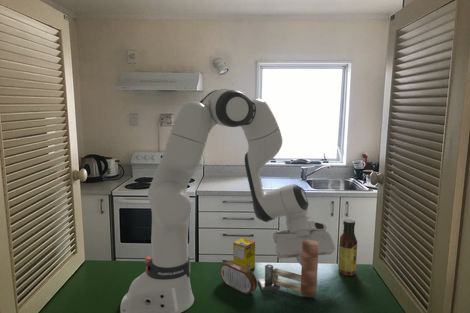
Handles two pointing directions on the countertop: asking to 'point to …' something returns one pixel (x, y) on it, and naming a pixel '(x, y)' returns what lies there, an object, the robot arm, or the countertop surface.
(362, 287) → the countertop surface
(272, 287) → the hinge post
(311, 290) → the wooden dowel roller
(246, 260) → the supplement box
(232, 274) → the tin
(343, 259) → the sauce bottle
